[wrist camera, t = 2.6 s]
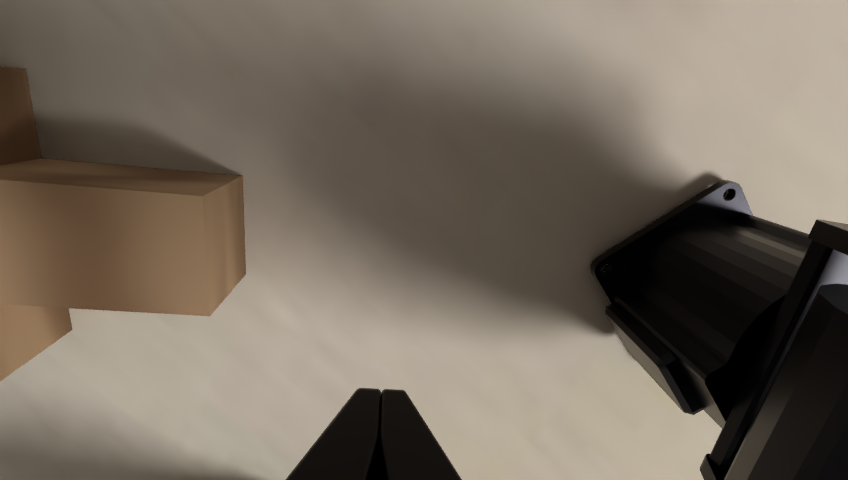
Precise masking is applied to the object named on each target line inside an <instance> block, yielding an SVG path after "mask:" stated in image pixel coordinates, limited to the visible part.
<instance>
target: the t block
mask: <svg viewBox="0 0 848 480" xmlns="http://www.w3.org/2000/svg"><path fill="white" fill-rule="evenodd" d="M245 274H246V264H245V233H244V203H243V176H239V175H227V174H216V173H204V172H193V171H181V170H169V169H158V168H146V167H135V166H123V165H112V164H100V163H89V162H77V161H66V160H54V159H43V158H41V152H40V147H39V141H38V136H37V130H36V124H35V119H34V113H33V108H32V102H31V97H30V91H29V85H28V80H27V74H26V69H20V68H11V67H1V66H0V381H1V380H3V379H4V378H5V377H7V376H8V375H10V374H11V373H12V372H14V371H15V370H17V369H18V368H19V367H21V366H22V365H24V364H25V363H26V362H28V361H29V360H31V359H32V358H33V357H35V356H36V355H38V354H39V353H40V352H42V351H43V350H44V349H46V348H47V347H49V346H50V345H51V344H53V343H54V342H56V341H57V340H58V339H60V338H61V337H63V336H64V335H65V334H67V333H68V332H70V331H71V330H72V325H71V320H70V314H69V309H68V308H76V309H94V310H111V311H129V312H147V313H164V314H182V315H200V316H211V314H212V313H213V312H214V311H215V310H216V308H217V307H218V306H219V305H220V304H221V303H222V301H223V300H224V299H225V298H226V297H227V296H228V294H229V293H230V292H231V291H232V290H233V289H234V287H235V286H236V285H237V284H238V283H239V281H240V280H241V279H242V278H243V277H244V276H245Z"/></svg>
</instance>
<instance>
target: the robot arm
mask: <svg viewBox="0 0 848 480" xmlns="http://www.w3.org/2000/svg"><path fill="white" fill-rule="evenodd" d="M727 189H728V194H727V196H726V197H725V198H723V194H724V192H725V191H726V190H727ZM606 264H608V268H607V269H606V270H605V271H604V272H601V271H600V270H601V268H602V267H603V266H604V265H606ZM590 269H591V273H592V274H593V276H594V278H595V280H596V281H597V283H598V285H599V286H600V288H601V290H602V291H603V293H604V295H605V296H606V298H607V300H608V302H609V303H610V305H608V306H606V311H605V314H606V316H607V317H608V319H609V321H610V322H611V324H612V326H613V327H614V329H615V331H616V332H617V334H618V336H619V337H620V339H621V341H622V342H623V344H624V346H625V347H626V349H627V351H628V352H629V353H630V354H631V355H632V357H633V358H634V359H635V360H636V361H637V362H638V363H639V364H640V365H641V366H642V367H643V369H644V370H645V371H646V372H647V373H648V374H649V375H650V376H651V377H652V378H653V379H654V380H655V382H656V383H657V384H658V385H659V386H660V387H661V388H662V389H663V390H664V391H665V392H666V394H667V395H668V396H669V397H670V398H671V399H672V400H673V401H674V402H675V403H676V404H677V406H678V407H679V408H680V409H681V410H682V411H683V412H685V413H688V414H692V415H694V414H696V413H698V412H700V411H701V410H704V411H705V412H706V413H707V414H708V415H709V416H710V417H711V418H712V419H713V420H714V421H715V422H716V423H717V424H718V425H719V426H720V427H721V428H722V431H721V433H720V435H719V437H718V439H717V441H716V444H715V446H714V448H713V450H712V452H711V454H706V456H705V458H704V460H703V462H702V464H701V466H700V471H701V473H702V476H703V478H704V480H848V224H843V223H837V222H831V221H824V220H818V219H817V220H816V222H815V224H814V226H813V228H812V230H811V232H810V234H807V233H804V232H801V231H797V230H794V229H791V228H788V227H785V226H782V225H779V224H776V223H773V222H770V221H767V220H764V219H761V218H758V217H755V216H753V214H752V212H751V210H750V207H749V205H748V202H747V200H746V198H745V195H744V193H743V190H742V188H741V186H740V185H739V184H737V183H735V182H732V181H728V180H722V181H720V182H718V183H716V184H714V185H713V186H711V187H710V188H708V189H706V190H705V191H703V192H701V193H700V194H698V195H697V196H695V197H693V198H692V199H690V200H689V201H687V202H685V203H684V204H682V205H681V206H679V207H677V208H676V209H674V210H672V211H671V212H669V213H668V214H666V215H664V216H663V217H661V218H660V219H658V220H656V221H655V222H653V223H652V224H650V225H648V226H647V227H645V228H643V229H642V230H640V231H639V232H637V233H635V234H634V235H632V236H631V237H629V238H627V239H626V240H624V241H622V242H621V243H619V244H618V245H616V246H614V247H613V248H611V249H610V250H608V251H606V252H605V253H603V254H602V255H600V256H598V257H597V258H596V259H594V260H593V262H592V264H591V268H590ZM286 480H462V479H461V478H460V476H459V475H458V473H457V472H456V470H455V468H454V467H453V465H452V464H451V462H450V461H449V459H448V457H447V456H446V454H445V453H444V451H443V450H442V448H441V446H440V445H439V443H438V442H437V440H436V439H435V437H434V436H433V434H432V432H431V431H430V429H429V428H428V426H427V425H426V423H425V421H424V420H423V418H422V417H421V415H420V414H419V412H418V410H417V409H416V407H415V406H414V404H413V403H412V401H411V399H410V398H409V396H408V395H407V393H406V392H405V391H404V390H392V389H384V390H383V391H382V393H381V391H380V390H379V389H371V388H359V389H357V390H356V391H355V393H354V394H353V395H352V396H351V398H350V399H349V400H348V401H347V403H346V404H345V405H344V407H343V408H342V409H341V410H340V412H339V413H338V414H337V415H336V417H335V418H334V419H333V420H332V422H331V423H330V424H329V425H328V427H327V428H326V429H325V431H324V432H323V433H322V434H321V436H320V437H319V438H318V439H317V441H316V442H315V443H314V444H313V446H312V447H311V448H310V450H309V451H308V452H307V453H306V455H305V456H304V457H303V458H302V460H301V461H300V462H299V463H298V465H297V466H296V467H295V469H294V470H293V471H292V472H291V474H290V475H289V476H288V477H287V479H286Z"/></svg>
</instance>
